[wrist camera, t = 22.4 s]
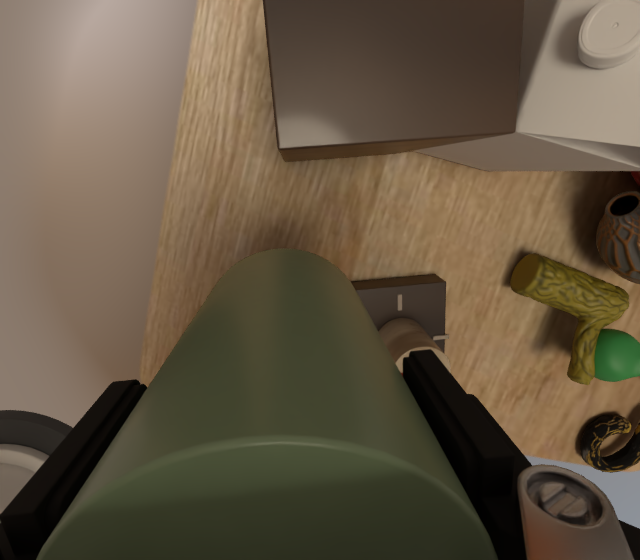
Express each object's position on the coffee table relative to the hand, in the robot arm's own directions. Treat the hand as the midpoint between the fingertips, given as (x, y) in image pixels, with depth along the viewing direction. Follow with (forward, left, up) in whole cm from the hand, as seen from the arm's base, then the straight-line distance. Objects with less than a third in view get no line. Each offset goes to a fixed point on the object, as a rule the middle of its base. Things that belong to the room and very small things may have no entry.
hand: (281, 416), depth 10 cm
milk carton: (+9, -15, -23) cm, 29 cm away
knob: (-9, -9, -20) cm, 24 cm away
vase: (-3, -32, -19) cm, 37 cm away
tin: (0, 0, -6) cm, 6 cm away
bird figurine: (-8, -26, -23) cm, 36 cm away
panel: (-9, -9, -23) cm, 26 cm away
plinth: (+11, -5, -23) cm, 26 cm away
